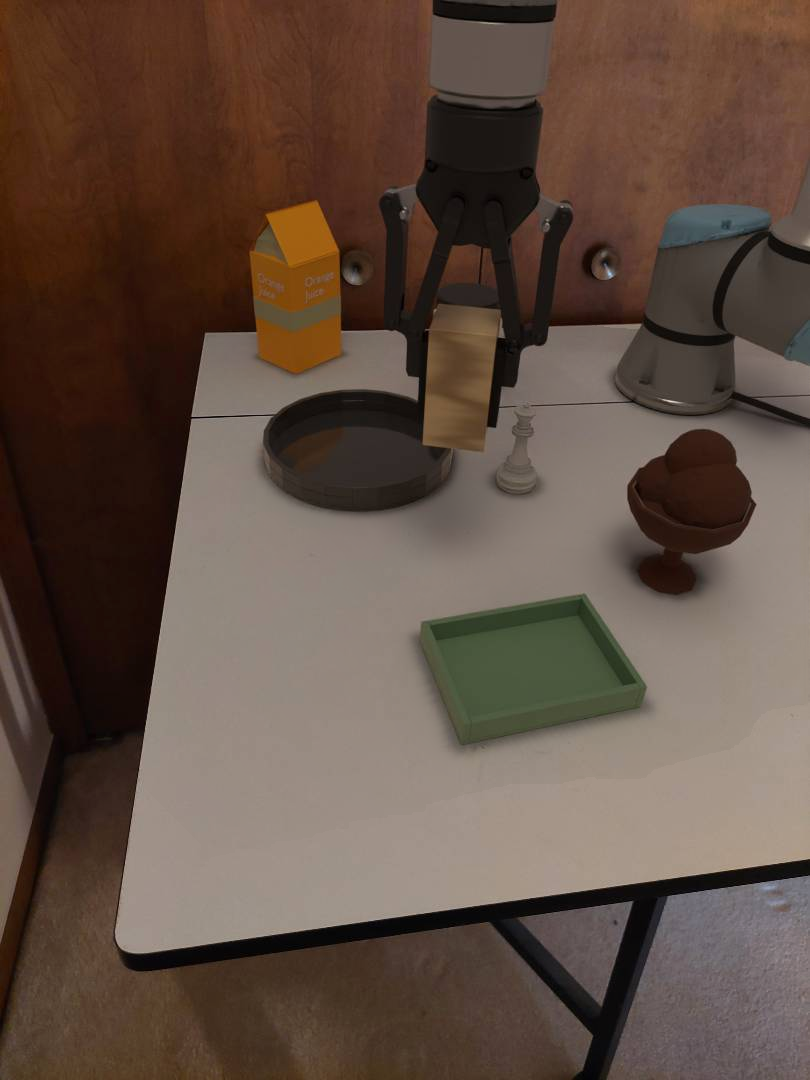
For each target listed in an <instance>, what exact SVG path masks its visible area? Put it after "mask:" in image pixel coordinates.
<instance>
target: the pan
mask: <svg viewBox="0 0 810 1080" xmlns="http://www.w3.org/2000/svg"><path fill="white" fill-rule="evenodd" d="M417 406H418V399H415V398H412V397H411V396H407V395H403V394H401V393H400V394H399V393H395V392H391V391H386V390H377V389H368V388H359V389H358V388H357V389H356V388H355V389H354V388H353V389H337V390H332V391H324V392H319V393H316V394H312V395H309V396H305V397H303V398H299V399H297V400H295V401H293V402H291V403H290V404H287V405H286V406H284V407H282V408H280V409H279V411H277V412H276V413H275V414H274V415H273V416H271V417H270V419H269V420H268V423H267V424H266V426H265V427H264V429H263V433H262V434H263V436H262V437H263V438H262V447H263V448H262V449H263V458H264V464H265V468H266V471H267V473H268V475H269V477H270V478H271V480H272V481H273V482H274V484H276V486H278V488H280V490H282V491H284V493H287V494H289V495H290V496H291V497H293V498H295V499H297V500H299V501H302V502H304V503H307V504H310V505H312V506H313V505H314V506H317V507H321V508H325V509H330V510H335V511H336V510H337V511H347V512H348V511H349V512H370V511H381V510H386V509H387V510H388V509H393V508H396V507H401V506H404V505H407V504H410V503H412V502H415V501H418V500H420V499H422V498H424V497H425V496H428V495H429V494H430V493H433V491H435V490H436V489H437V488H438V487H440V486H441V485H442V483H443V482H444V481H446V478H447V477H448V475H449V473H450V470H451V467H452V460H453V451H454V449H453V448H444V447H436V446H428V445H423V428H424V420H422V419H417Z"/></svg>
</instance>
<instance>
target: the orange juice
mask: <svg viewBox="0 0 810 1080" xmlns="http://www.w3.org/2000/svg"><path fill="white" fill-rule="evenodd" d="M340 253H341V252H340V249H339V248H338V245H337V243H336V241H335V239H334V236H333V234H332V231H331V229H330V227H329V225H328V222H327V220H326V218H325V215H324V213H323V211H322V208H321V206H320V204H319V201H318V199H315V200H311V201H307V202H304V203H303V202H302V203H300V204H296V205H291V206H288V207H284V208H281V209H278V210H273V211H269V212H266V213H265V215H264V217H263V220H262V222H261V224H260V227H259V229H258V231H257V234H256V236H255V238H254V241H253V243H252V245H251V248H250V249H249V259H250V260H249V261H250V271H251V272H250V273H251V282H252V283H251V285H252V294H253V295H252V299H253V309H254V310H253V311H254V316H255V317H254V318H255V329H256V339H257V350H258V351H257V352H258V358H260V359H262V360H264V361H266V362H269V363H271V364H272V365H274V366H277V367H279V368H281V369H284V370H286V371H288V372H289V373H291V374H294V375H297V374H300V373H302V372H305V371H307V370H310V369H311V368H313V367H316V366H318V365H321V364H323V363H325V362H327V361H331V360H332V359H335V358H336V357H339V356H341V355H342V295H341V264H340Z"/></svg>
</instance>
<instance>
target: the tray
mask: <svg viewBox="0 0 810 1080" xmlns="http://www.w3.org/2000/svg"><path fill="white" fill-rule="evenodd" d="M419 643H420V646H421V648H422V650H423V654H424V656H425V659H426V660H427V663H428V665H429V668H430V670H431V673H432V675H433V678H434V680H435V682H436V683H435V684H436V685H437V688H438V690H439V693H440V695H441V698H442V700H443V702H444V703H443V704H444V705H445V708H446V710H447V713H448V715H449V718H450V721H451V723H452V726H453V727H454V730H455V733H456V735H457V738H458V740H459V742H460V745H463V746H464V745H467V744H471V743H476V742H481V741H487V740H491V739H496V738H499V737H504V736H505V737H506V736H509V735H514V734H519V733H523V732H524V733H525V732H528V731H533V730H537V729H542V728H546V727H547V728H548V727H552V726H557V725H561V724H565V723H571V722H576V721H580V720H585V719H589V718H593V717H599V716H603V715H608V714H613V713H617V712H622V711H627V710H631V709H637V708H641V707H642V704H643V701H644V697H645V694H646V692H647V689H648V686H647V684H646V682H645V681H644V680H643V678H642V677H641V675H640V674H639V671H638V670H637V669H636V667H635V666H634V664H633V663H632V662H631V660H630V658H629V657H628V656H627V654H626V653H625V651H624V650H623V648H622V647H621V646H620V643H619V642H618V640H617V639H616V638H615V636H614V635H613V633H612V631H611V630H610V629H609V627H608V625H607V624H606V623H605V621H604V620H603V618H602V617H601V615H600V614H599V612H598V611H597V609H596V608H595V606H594V605H593V603H592V602H591V600H590V599H589V598H588V595H587V594H586V593H585V592H584V593H580V594H573V595H567V596H562V597H561V596H560V597H556V598H550V599H545V600H539V601H538V600H537V601H532V602H528V603H527V602H526V603H521V604H515V605H510V606H505V607H504V606H503V607H498V608H492V609H487V610H480V611H475V612H469V613H463V614H457V615H452V616H446V617H440V618H434V619H429V620H423V621H422V620H421V621H420V634H419Z"/></svg>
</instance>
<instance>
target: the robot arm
mask: <svg viewBox="0 0 810 1080" xmlns="http://www.w3.org/2000/svg"><path fill="white" fill-rule="evenodd" d="M558 1H559V0H432V11H431V13H430V30H429V32H430V34H429V55H428V74H427V75H428V79H427V84H428V85H429V86H430V88H431V89H433V90H435V91H436V94H434V95H432V96H431V97H430V100H429V101H427V102H426V119H425V121H426V123H425V142H424V144H425V145H424V146H425V147H424V162H423V168H422V171H421V173H420V175H419V177H418V179H417V181H416V183H413V184H409V185H406V186H403V187H398V186H396V185H390V186H388V187H387V188H386V190H385V191H384V193H383V194H382V196H381V197H380V198H379V201H378V206H379V209H380V213H381V216H382V219H383V223H384V226H385V230H386V235H385V236H386V239H385V266H384V270H385V271H384V295H383V327H384V328H385V329H386V330H387V331H389V332H398V333H399V334H401V335H403V336H404V338H405V339H406V357H405V362H406V363H405V372H406V374H407V377H410V378H411V377H412V378H418V387H417V388H418V389H417V400H418V406H417V419H422V420H424V410H425V393H426V375H427V358H428V340H429V329H426V328H427V327H426V326H427V324H428V321H429V318H430V315H431V312H432V309H433V306H434V302H435V299H436V298H437V293H438V291H439V289H440V285H441V282H442V279H443V276H444V273H445V270H446V267H447V264H448V261H449V258H450V256H451V251H452V249H453V246H455V247H456V246H457V247H463V246H469V245H473V246H476V247H479V248H482V249H488V250H490V257H491V262H492V265H493V270H494V277H495V282H496V290H497V291H498V297H499V303H500V310H501V318H502V329H503V330H502V331H503V336H504V337H501V338H500V337H498V341H497V346H496V351H495V360H494V369H493V378H492V386H491V395H490V404H489V413H488V422H487V427H488V428H492V429H497V427H498V420H499V412H500V406H501V395H502V388H510V389H511V388H512V389H514V388H515V386H516V385H517V383H518V378H519V372H520V371H519V370H520V364H521V362H520V361H521V355H522V352H523V350H525V348H528V347H532V346H536V347H542V346H545V344H546V343H547V341H548V336H549V330H550V322H551V315H552V307H553V302H554V294H555V286H556V278H557V272H558V263H559V259H560V258H559V257H560V251H561V245H562V243H563V241H564V239H565V237H566V236H567V233H568V231H569V230H570V228H571V226H572V224H573V221H574V205H573V203H572V202H571V201H569V200H566V199H564V200H561V201H558V200H556V199H554V198H552V197H550V196H548V195H546V194H543V193H541V187H540V183H539V181H538V178H537V164H538V157H539V156H538V155H539V148H540V140H541V133H542V124H543V117H544V107H542V104H541V102H540V101H538V99H537V97H539V96H541V95H542V94H543V93H544V92H545V91H546V90H547V82H548V75H549V68H550V60H551V53H552V45H553V38H554V30H555V24H556V23H555V22H556V21H555V19H556V16H557V8H558ZM801 178H802V179H801V181H800V184H799V188H798V191H797V194H796V196H795V197H796V198H795V201H794V204H793V207H792V210H791V211H790V212H788V213H787V214H786V215H784V216H783V217H781V218H779V219H778V220H776V221H775V222H772V214H771V213H770V212H769V211H767V210H766V209H764V208H761V207H756V206H751V205H743V204H729V203H728V204H727V203H714V204H713V203H712V204H711V203H710V204H697V205H691V206H687V207H686V206H685V207H682V208H679V209H677V210H675V211H673V212H672V213H671V214H670V215H669V216H668V217H667V218H666V220H665V224H664V226H663V229H662V233H661V236H660V239H659V242H658V244H657V246H656V248H657V251H656V257H655V260H654V265H653V269H652V273H651V279H650V284H649V288H648V293H647V298H646V302H645V306H644V312H643V316H642V320H641V324H640V326H639V328H638V330H637V331H636V333H635V334H634V337H633V338H632V340H631V342H630V344H629V345H628V347H627V348H626V350H625V352H624V354H623V355H622V356H621V358H620V360H619V362H618V364H617V368H616V372H615V373H616V374H615V377H614V382H615V385H616V387H617V389H618V390H619V391H620V392H621V393H622V394H623V395H624V396H625V397H627V398H628V399H630V400H632V401H633V402H635V403H637V404H639V405H642V406H644V407H647V408H648V409H649V408H650V409H652V410H656V411H660V412H663V413H669V414H676V415H687V416H689V415H692V416H693V415H696V416H697V415H705V414H711V413H715V412H718V411H721V410H723V409H724V408H726V407H727V406H729V404H730V403H731V402H732V400H734V401H739V402H740V403H744V404H746V405H748V406H751V407H754V408H757V409H760V410H763V411H765V412H768V413H771V414H773V415H776V416H779V417H781V418H784V419H786V420H788V421H791V422H795V423H798V424H800V425H804V426H807V427H810V417H807V416H804V415H800V414H798V413H794V412H792V411H789V410H786V409H784V408H781V407H778V406H777V405H773V404H771V403H768V402H766V401H762V400H760V399H756V398H754V397H751V396H750V395H749V396H748V395H747V394H744V393H743V394H742V393H740V392H737V391H735V389H736V362H735V361H736V360H735V339H736V337H738V338H740V339H743V340H745V341H747V342H749V343H751V344H754V345H756V346H758V347H760V348H763V349H765V350H767V351H769V352H772V353H774V354H776V355H778V356H781V357H783V358H784V359H785V360H786V361H789V362H793V361H794V362H797V363H799V364H802V365H805V366H808V367H810V155H808V159H807V163H806V165H805V168H804V171H803V175H802V177H801ZM418 202H420V204H421V206H422V207H423V209H424V211H425V213H426V214H427V216H428V217H429V220H430V221H431V222H432V224H433V226H434V227H435V229H436V231H437V235H436V238H435V241H434V244H433V247H432V251H431V254H430V257H429V260H428V264H427V266H426V270H425V272H424V275H423V279H422V282H421V286H420V288H419V292H418V295H417V299H416V302H415V305H414V308H413V311H412V312H410V311H407V310H405V308H406V287H407V269H408V268H407V266H408V251H409V250H408V249H409V228H410V227H409V224H410V223H409V221H410V220H411V219H412V217H413V216H414V214H415V212H416V203H418ZM533 212H535V213H536V214H537V216H538V221H537V227H538V228H537V229H538V230H539V232H541V234H543V239H542V245H541V252H540V254H541V255H540V261H539V267H538V271H539V272H538V277H537V285H536V292H535V293H536V294H535V299H534V300H535V301H534V310H533V315H532V316H533V317H532V322H528V323H524V322H523V316H522V310H521V302H520V294H519V287H518V280H517V272H516V265H515V258H514V257H515V256H514V250H513V249H514V248H513V237H512V235H513V234H514V233H515V232H516V231H517V230H518V228H519V227H520V226H521V225H522V224H523V223H524V222H525V221H526V219H528V217H529V216H530V215H531V214H532V213H533ZM523 323H524V324H523Z"/></svg>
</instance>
